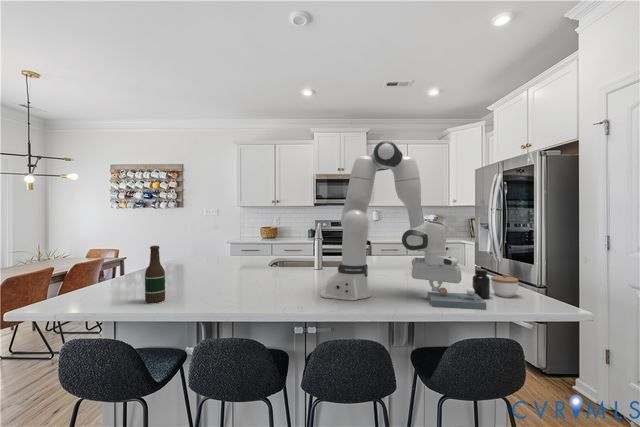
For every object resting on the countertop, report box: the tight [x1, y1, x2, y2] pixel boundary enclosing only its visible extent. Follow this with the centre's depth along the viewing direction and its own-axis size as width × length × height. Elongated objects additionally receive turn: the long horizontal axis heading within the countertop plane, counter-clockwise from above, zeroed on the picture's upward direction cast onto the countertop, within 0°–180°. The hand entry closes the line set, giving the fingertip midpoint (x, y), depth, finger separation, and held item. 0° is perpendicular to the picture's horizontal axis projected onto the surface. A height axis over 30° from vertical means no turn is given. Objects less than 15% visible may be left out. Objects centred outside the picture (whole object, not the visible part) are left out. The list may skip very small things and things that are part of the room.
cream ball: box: [466, 287, 475, 295], centre depth 136 cm, size 3×3×3 cm
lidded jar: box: [490, 273, 520, 298], centre depth 145 cm, size 11×11×9 cm
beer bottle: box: [144, 245, 166, 304], centre depth 139 cm, size 8×8×24 cm
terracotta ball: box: [439, 287, 448, 295], centre depth 136 cm, size 3×3×3 cm
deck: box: [427, 291, 487, 310], centre depth 133 cm, size 20×14×2 cm
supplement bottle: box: [472, 268, 491, 300], centre depth 142 cm, size 7×7×12 cm
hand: (435, 291), depth 138 cm, fingers closed
